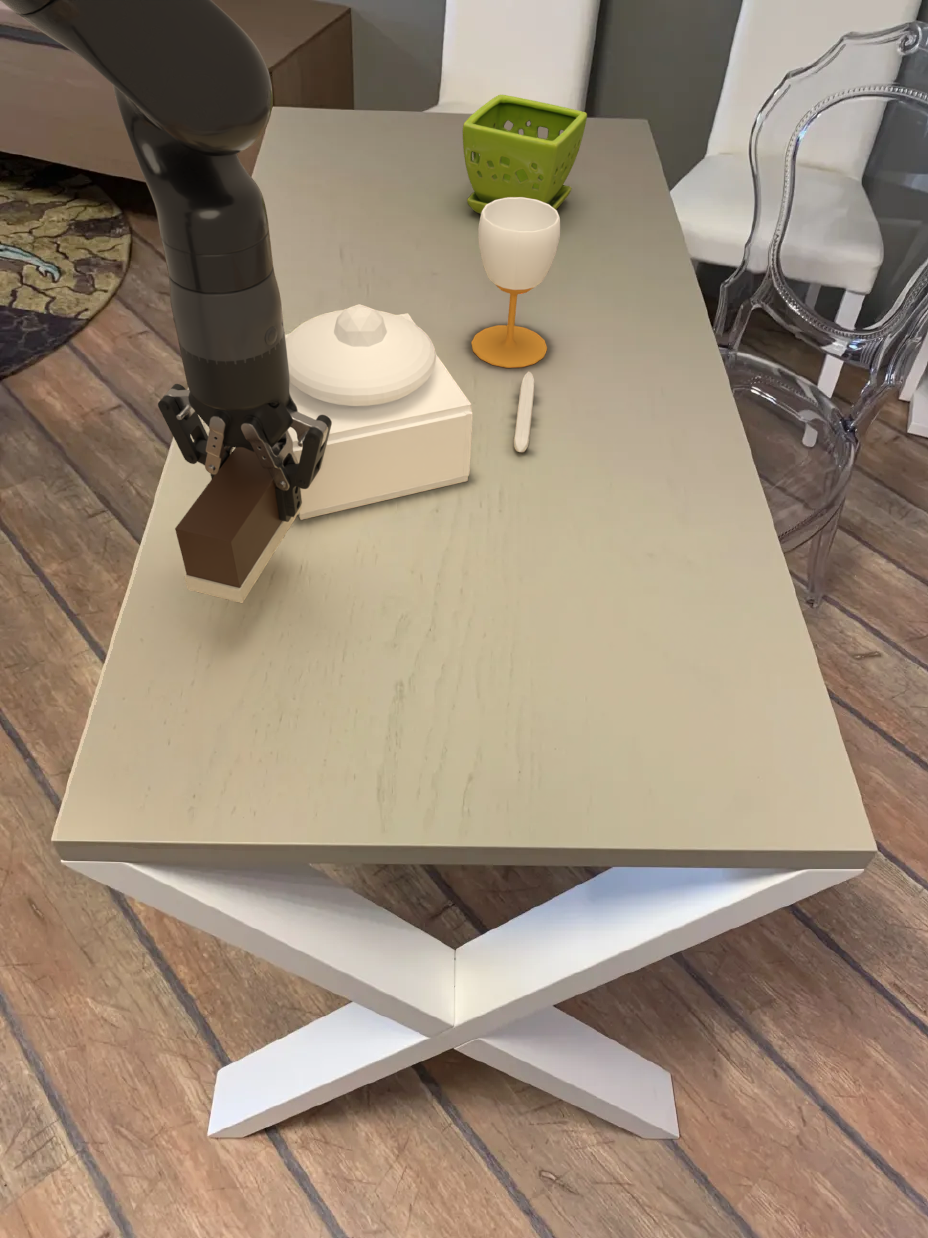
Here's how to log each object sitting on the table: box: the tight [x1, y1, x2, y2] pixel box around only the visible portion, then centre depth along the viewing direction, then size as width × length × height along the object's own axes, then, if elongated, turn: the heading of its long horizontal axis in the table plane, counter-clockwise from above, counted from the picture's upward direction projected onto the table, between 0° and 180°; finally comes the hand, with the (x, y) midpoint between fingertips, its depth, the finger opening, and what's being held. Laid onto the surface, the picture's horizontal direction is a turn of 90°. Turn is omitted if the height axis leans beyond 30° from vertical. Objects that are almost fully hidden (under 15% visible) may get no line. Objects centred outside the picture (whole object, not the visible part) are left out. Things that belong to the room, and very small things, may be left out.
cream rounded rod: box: [513, 370, 535, 453], centre depth 103 cm, size 2×14×2 cm, turn 174°
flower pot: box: [462, 94, 588, 215], centre depth 133 cm, size 14×14×13 cm
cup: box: [470, 197, 561, 369], centre depth 106 cm, size 9×9×16 cm
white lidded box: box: [285, 303, 474, 521], centre depth 93 cm, size 18×18×16 cm
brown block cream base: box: [174, 447, 301, 604], centre depth 77 cm, size 12×5×6 cm, turn 164°
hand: (259, 507), depth 80 cm, fingers closed on brown block cream base, 4 cm apart
